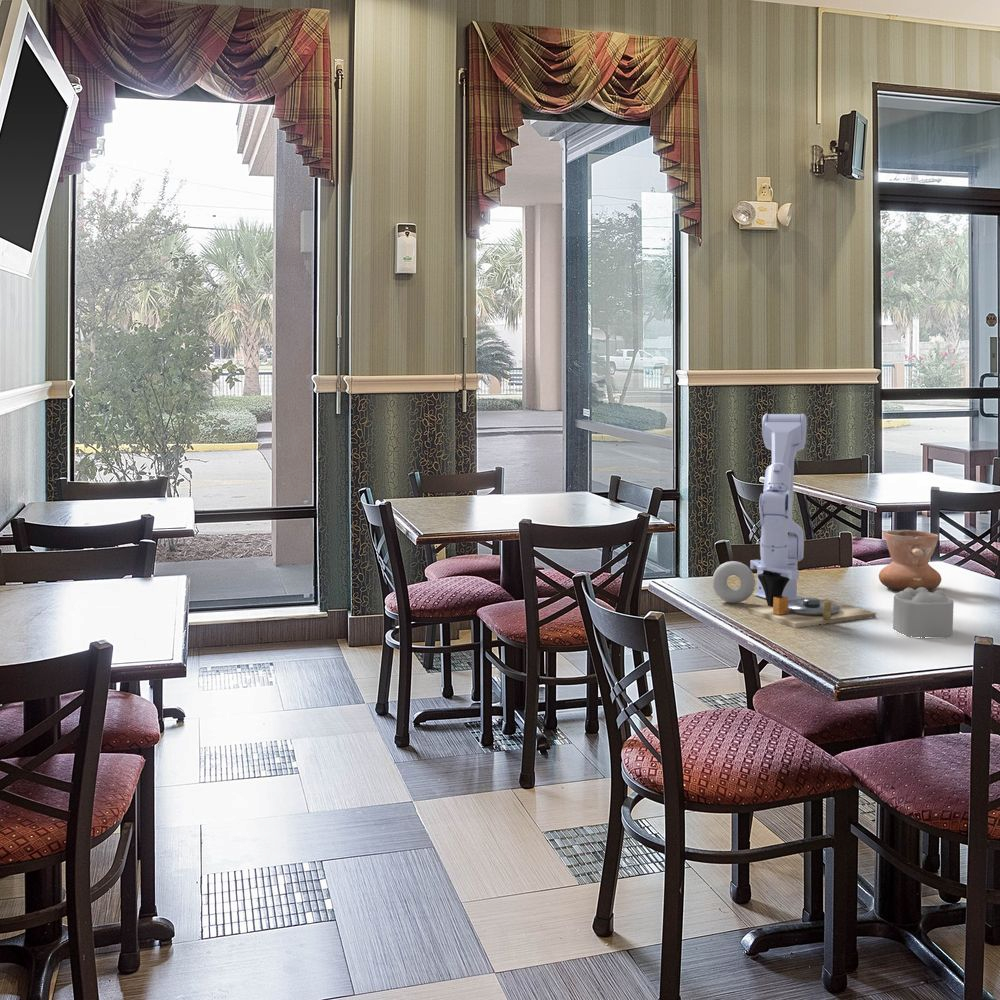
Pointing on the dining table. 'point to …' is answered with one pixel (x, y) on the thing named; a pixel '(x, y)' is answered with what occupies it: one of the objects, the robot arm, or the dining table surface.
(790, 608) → the flange plate
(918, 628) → the lumpy-topped squat cylinder
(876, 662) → the dining table surface
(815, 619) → the board
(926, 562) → the ceramic jug
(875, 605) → the dining table surface
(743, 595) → the donut
